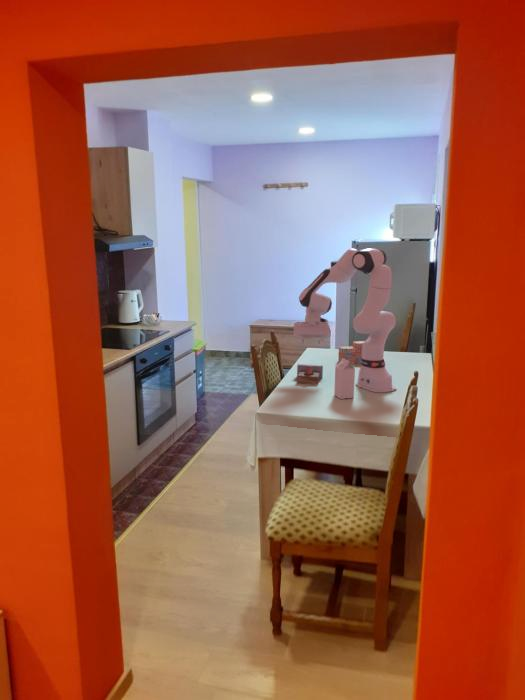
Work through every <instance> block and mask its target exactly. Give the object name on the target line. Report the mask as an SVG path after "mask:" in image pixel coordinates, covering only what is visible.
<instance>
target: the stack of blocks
mask: <svg viewBox="0 0 525 700" xmlns="http://www.w3.org/2000/svg"><path fill="white" fill-rule="evenodd" d="M365 341H366V340H361V341H360V340H358V341H352V346H351V345H350V346H348V345H347V346H339V347H338V362H339V361H341V360H342V358H343V359H345V360H347V361H349V364H351V363H350V362H360V363H361V358H362V351H363V343H364V342H365Z"/></svg>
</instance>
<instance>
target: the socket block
mask: <svg viewBox="0 0 525 700" xmlns="http://www.w3.org/2000/svg"><path fill="white" fill-rule="evenodd" d="M319 375H320V372H314V371H312V375H306V371H299V374H298V377H297V384H301V385H302V384H305V385H319V382H320V378H319Z"/></svg>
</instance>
